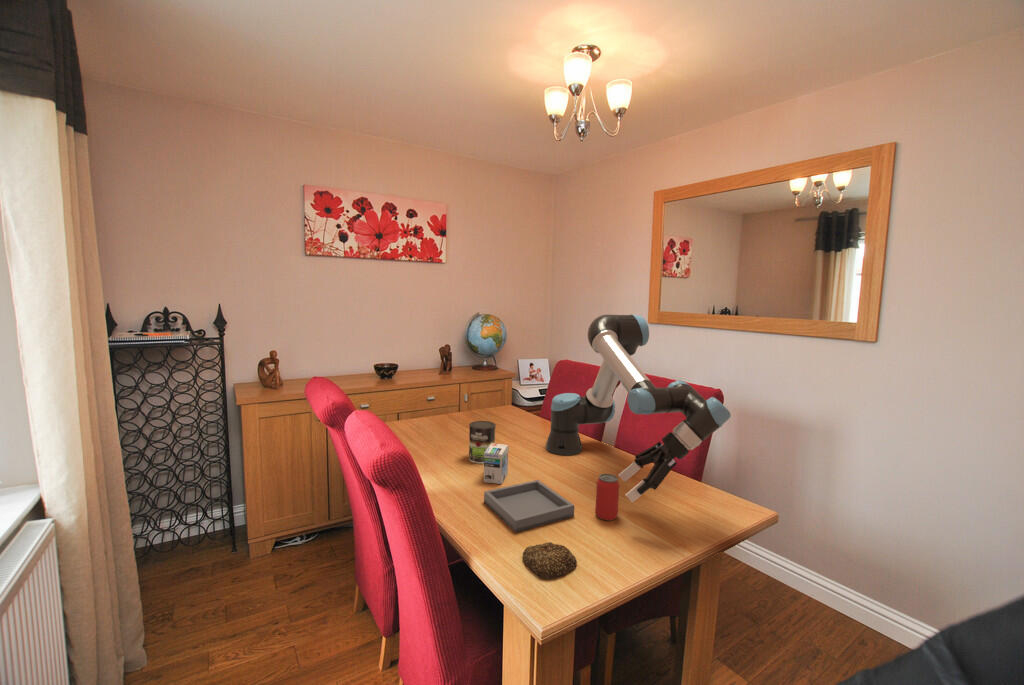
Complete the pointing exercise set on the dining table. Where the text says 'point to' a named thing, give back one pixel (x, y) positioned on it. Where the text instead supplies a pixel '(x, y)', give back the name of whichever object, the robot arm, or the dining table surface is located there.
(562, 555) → the bread roll
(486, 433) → the coffee can
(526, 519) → the tray
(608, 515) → the beer can
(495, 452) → the light bulb box
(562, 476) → the dining table surface
